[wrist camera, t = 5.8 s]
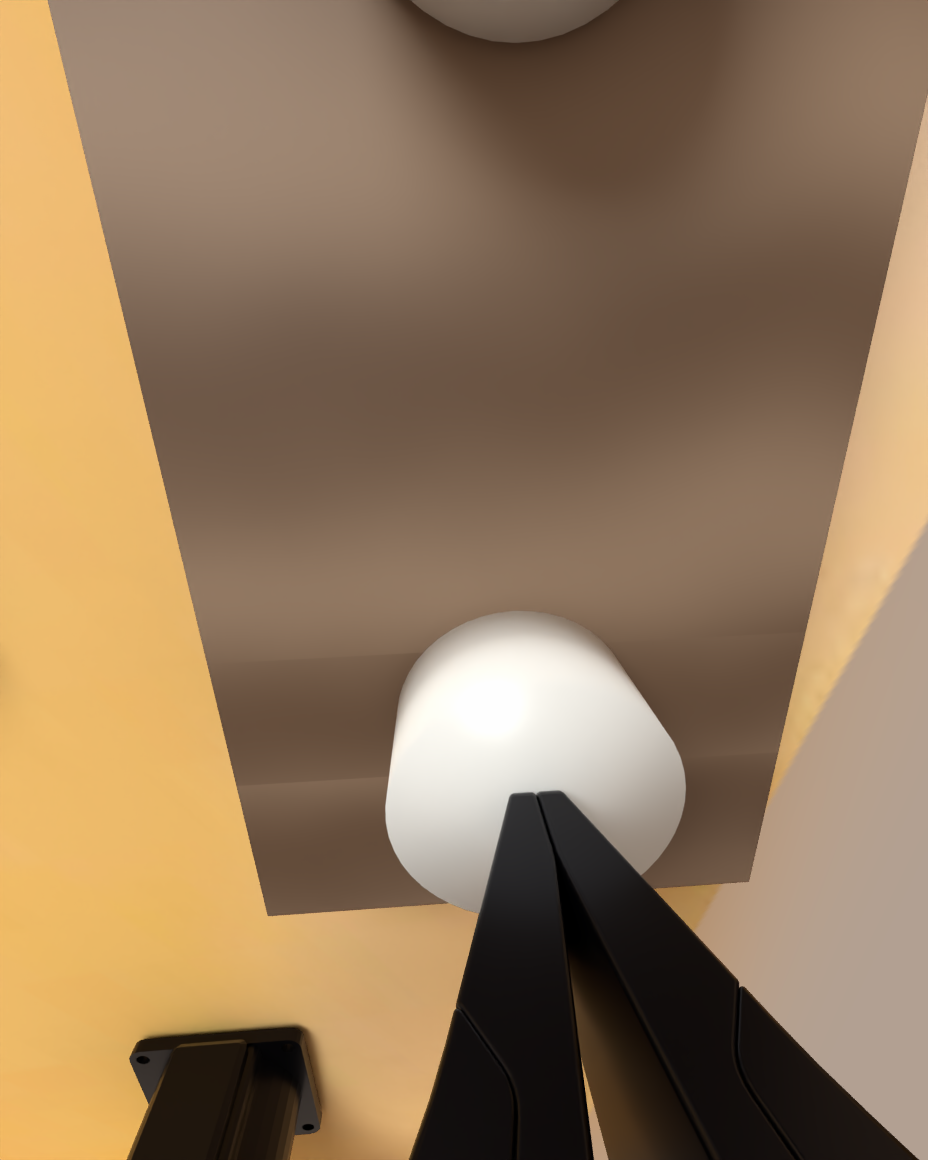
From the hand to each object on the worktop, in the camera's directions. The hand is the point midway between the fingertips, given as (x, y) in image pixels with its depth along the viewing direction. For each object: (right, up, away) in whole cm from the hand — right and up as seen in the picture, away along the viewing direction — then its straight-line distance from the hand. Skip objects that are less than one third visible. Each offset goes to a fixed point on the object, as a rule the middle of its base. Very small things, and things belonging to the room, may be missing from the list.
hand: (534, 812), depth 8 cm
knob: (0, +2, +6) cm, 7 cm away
